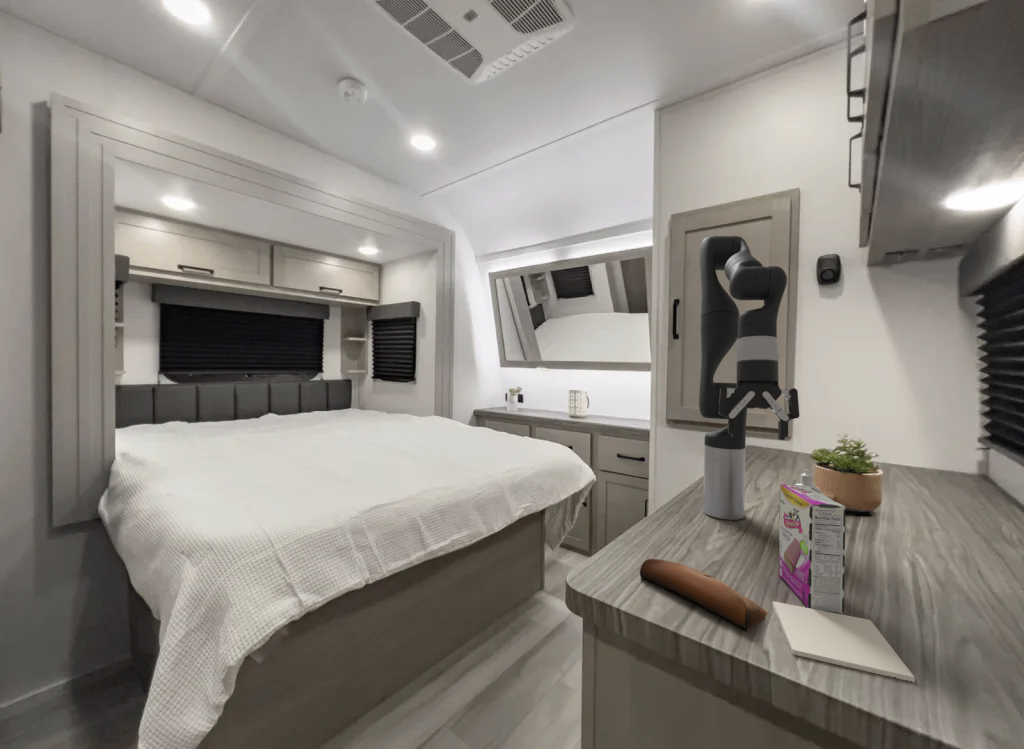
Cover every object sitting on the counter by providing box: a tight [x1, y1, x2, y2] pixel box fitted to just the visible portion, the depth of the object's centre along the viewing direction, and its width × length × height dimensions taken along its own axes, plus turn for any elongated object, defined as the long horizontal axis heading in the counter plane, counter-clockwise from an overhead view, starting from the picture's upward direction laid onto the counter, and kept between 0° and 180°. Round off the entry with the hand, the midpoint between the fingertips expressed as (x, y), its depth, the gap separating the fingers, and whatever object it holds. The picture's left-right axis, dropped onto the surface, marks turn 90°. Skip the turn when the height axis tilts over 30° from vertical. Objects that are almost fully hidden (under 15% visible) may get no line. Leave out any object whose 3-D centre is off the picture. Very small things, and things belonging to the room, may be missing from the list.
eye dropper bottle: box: [794, 469, 821, 493], centre depth 103 cm, size 4×6×12 cm
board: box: [772, 600, 916, 683], centre depth 56 cm, size 12×12×1 cm
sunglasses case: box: [639, 558, 770, 632], centre depth 66 cm, size 18×7×7 cm
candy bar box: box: [778, 483, 847, 615], centre depth 67 cm, size 11×5×16 cm, turn 168°
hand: (757, 438), depth 85 cm, fingers open, 8 cm apart
